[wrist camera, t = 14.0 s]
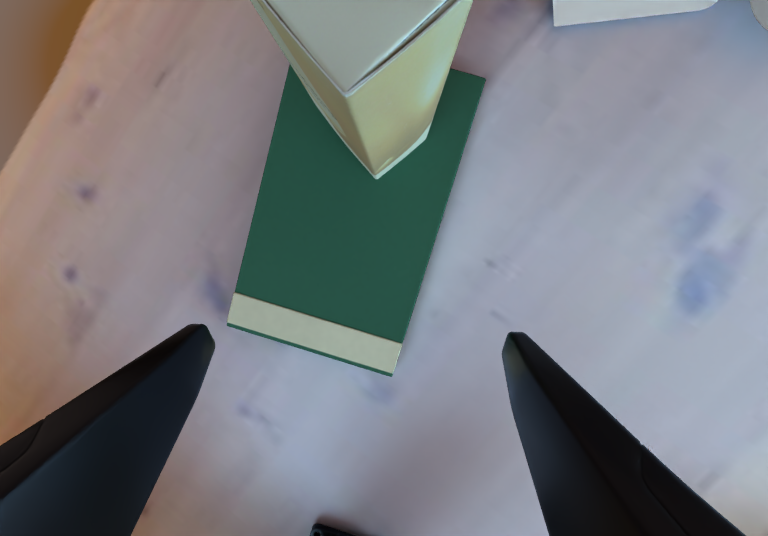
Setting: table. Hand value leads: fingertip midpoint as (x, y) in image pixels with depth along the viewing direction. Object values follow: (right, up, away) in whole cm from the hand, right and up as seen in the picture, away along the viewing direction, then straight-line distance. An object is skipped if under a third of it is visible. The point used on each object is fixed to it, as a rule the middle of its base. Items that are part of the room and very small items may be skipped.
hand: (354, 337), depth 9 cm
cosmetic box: (0, +11, +10) cm, 15 cm away
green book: (-1, +6, +12) cm, 13 cm away
